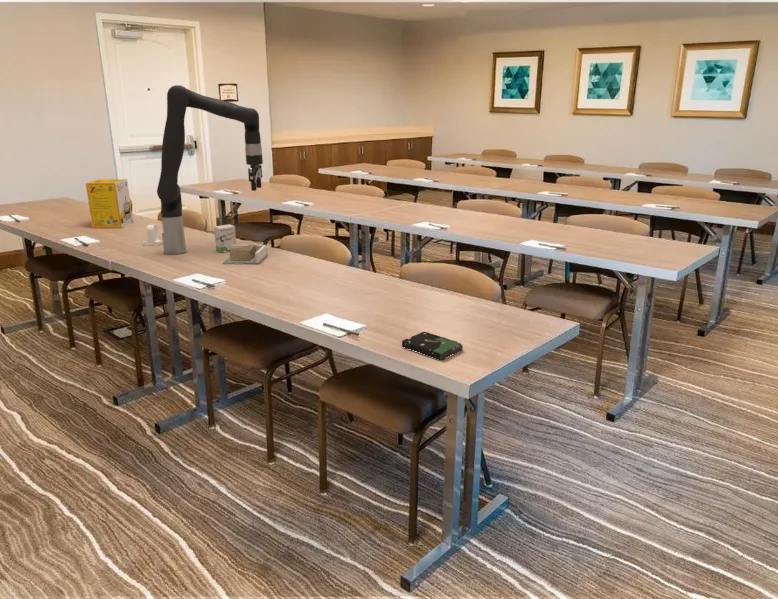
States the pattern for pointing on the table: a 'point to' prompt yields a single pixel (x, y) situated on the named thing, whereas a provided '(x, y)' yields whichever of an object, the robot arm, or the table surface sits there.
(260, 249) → the tray
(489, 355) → the table surface
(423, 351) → the disk drive
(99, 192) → the packaging box
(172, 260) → the table surface
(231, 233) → the ink box
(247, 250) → the tan boxy piece
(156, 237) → the cable organizer
